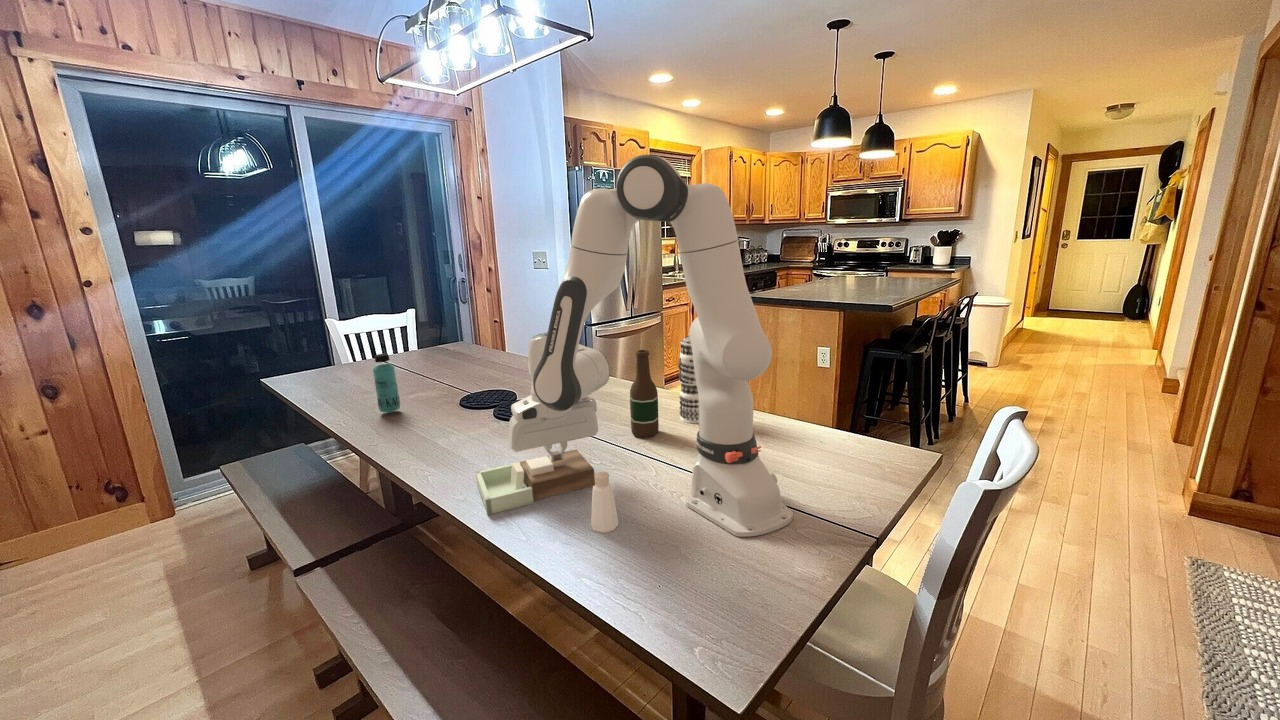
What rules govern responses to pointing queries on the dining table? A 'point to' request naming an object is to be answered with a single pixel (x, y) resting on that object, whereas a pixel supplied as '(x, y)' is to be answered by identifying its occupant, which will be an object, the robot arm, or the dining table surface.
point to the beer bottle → (643, 400)
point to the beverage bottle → (386, 385)
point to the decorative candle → (688, 384)
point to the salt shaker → (603, 505)
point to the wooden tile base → (561, 476)
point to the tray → (501, 490)
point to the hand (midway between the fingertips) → (556, 460)
